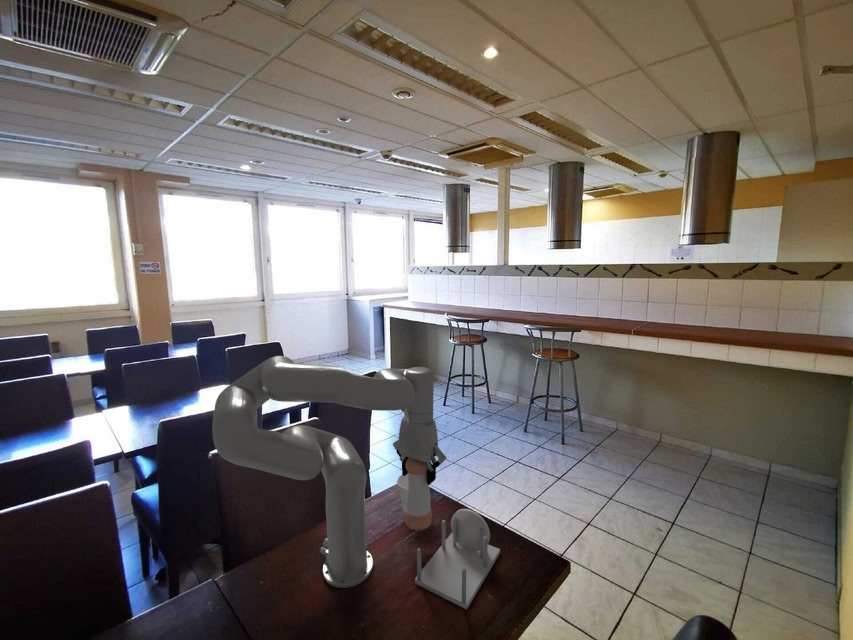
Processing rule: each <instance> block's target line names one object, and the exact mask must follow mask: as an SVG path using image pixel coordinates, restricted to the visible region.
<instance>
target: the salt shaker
mask: <svg viewBox="0 0 853 640" xmlns="http://www.w3.org/2000/svg"><path fill="white" fill-rule="evenodd" d="M405 466H406V469H407V471H408V489H407V495H406V508H405V515H404V523H405V525H406V527H408V528H409V529H411V530H413V531H421V530H425V529H428V528H429V527H430V525H431V524H432V515H433V514H432V512H433V511H432V506H431V498H432V497H431V492H430V490H431V489H430V485H427V470H428V469H429V468H428V466H427V464H426V462H422V461H418V460H415V459H412V458H409V459H408V460H407V461H406V465H405Z"/></svg>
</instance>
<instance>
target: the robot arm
mask: <svg viewBox="0 0 853 640" xmlns="http://www.w3.org/2000/svg"><path fill="white" fill-rule="evenodd" d="M434 382H435V381H434V372H433V370H432V369H431V368H428V367H425V366H413V367H409V368H392V367H391V368H390V367H389V368H383V369H380V370H378V371H377V372H376V373H374V375H373V376H372V377H371V376H370V377H369V376H366V375H362V374H359V373H356V372H354V371H351V370H349V369H347V368H345V367H343V366H339V365H332V364H331V365H329V364H328V365H326V364H311V363H295V362H294V360H292V359H291V358H289V357H287V356H286V355H285V356H284V355H275V356H272V357H270V358H267V359H266V360H264V361H263V362H261V363H260V364H258V365H257V366H256V367H253V369H251V370H249V371H248V372H247V373H245V374H244V375H242V376H241V377H240V378H238V379H236V380H235V381H233V382H232V383H231V384H229V385H227V386H226V388H224V389H223V390H221V392H220V393H219V395H218V396H217V399H216V400H215V405H214V411H213V415H212V423H211V424H212V425H211V426H212V427H211V429H212V431H211V432H212V441H213V445H214V446H215V450H216V452H217V453H218V454H219V456H220V457H222V459H224V460H225V461H228V462H229V463H232V464H234V465H237V466H241V467H245V468H250V469H255V470H259V471H263V472H266V473H269V474H273V475H277V476H281V477H286V478H289V479H293V480H298V481H308V480H312V479H314V478H315V477H317V476H318V475H319V474H320V472H321V474H322V477H323V479H324V483H325V517H326V535H327V537H326V538H324V539H323V541H322V545H323V546H321V547H320V548H319V552H320V553H321V554H323V555H325V561H324V563H323V566H322V575H323V579H324V580H325V582H326V583H328V585H331V586H332V587H334V588H339V589H340V588H341V589H343V588H344V589H346V588H347V589H348V588H352V587H355V586H358V585H360V584H362V583H363V582H364V581H366V580H367V578H369V577H370V575H371V573H372V572H373V568H374V558H373V555H372V554H371V552H370V551H368V550H367V526H366V520H367V519H366V487H367V486H366V485H367V472H366V467H365V465H364V462H363V460H362V458H361V457H360V455H359V453H358V452H357V450H356V449H355V447H354V446H353V444H352V443H351V441H350V440H348V439H347V438H345V437H343V436H340V435H338V434H334V433H331V432H328V431H326V430H322V429H319V428H316V427H312V426H309V425H302V424H301V425H300V424H299V425H293V426H291V427H288V428H287V429H285V430H284V431H283V432H282V433H281V432H278V431H275V430H270V429H261V428H259V427H258V409H259V408H260V407H261V406H262V405H264V404H265V403H266V402H268V401H269V400H272V401H276V402H285V403H286V402H287V403H288V402H289V403H297V402H298V403H333V404H337V405H342V406H345V407H350V408H351V407H352V408H358V409H361V410H368V411H382V412H383V411H401V412H403V413H404V414H403V415H404V416H403V417H402V418H401V420H400V421H401V422H400V424H399V425H400V426H399V430H398V431H399V432H398V439H396V440H395V441H394V442H393V443H392V446H393V448H394V450H395V451H396V454H397V455H398V457H399V461H400V462H401V475H402V476H405V475H407V474H408V471H407V469H406V466H405V465H406V461H407V460H408V459H409V458H412V459H415V460H418V461H422V462H426V464H427V466H428V468H429V469H428V470H427V485H429V486H430V485H431V484H432V483H434V481H436V479H437V468H438V467H440V466H441V465H442V464H443V463H444V462H445V461H446V460H447V457H446V454H444V452H443V451H442V450H441V449H440V447H439V438H438V437H439V436H438V429H437V428H438V427H437V424H436V420H434V394H435V393H434V391H435V390H434V385H435V384H434ZM436 457H437V458H438V459H436Z"/></svg>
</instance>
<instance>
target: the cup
mask: <svg viewBox="0 0 853 640" xmlns="http://www.w3.org/2000/svg"><path fill="white" fill-rule="evenodd" d="M396 484H397V485H398V490H399V491H398V492H399V495H400V501H401V505H402V512H403V515H404V516H405V508H406V495H407V489H408V474H407V475H405V476H402V474H400V475H399V476H398V478H397V480H396Z"/></svg>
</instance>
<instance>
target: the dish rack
mask: <svg viewBox="0 0 853 640" xmlns="http://www.w3.org/2000/svg"><path fill="white" fill-rule="evenodd" d="M450 529H451V533H450V534H449V536H448V537H446V535H447V534H446V520H445V519H443V520H441V545H440V547H439V548H438V549H437V550H436V551H435V553H434V554H433V556H432V557H431V558H430V559H429V560H428V562H427V563H426V565H424V567H423V568H422V549H421V547H418V548H417V549H416V568H417V569H416V572H417V573H416V574H417V575H416V576H415V578H414V584H416V585H418V586H420V587H421V588H424V589H426V590H428V591H429V592H432V593H433V594H436V595H438V596H439V597H442V598H443V599H445V600H448V601H449V602H450V603H452V604H455V605H457V606H458V607H461V608H463V609H465V610H468V608H469V607H470V605H471V603H472V602H473V600H474V598H475V597H476V595H477V593H478V591H479V590H480V588H481V586H482V584H483V583H484V581H485V580H486V577H487V576H488V575H489V573H490V571H491V570H492V568H493V566H494V564H495V562H496V560H497V559H498V558H499V555H500V554H501V549H500V548H498V547H496V546H494V545H490V544H489V543H490V539H491V533H490V528H489V525H488V523H487V522H486V520H485V519H484V518H483V517H482V516H481V515H480V514H479V513H477V512H476V511H474V510H472V509H470V508H460V509H458V510H457V511H456V512H455V513H453V515H452V517H451V519H450Z"/></svg>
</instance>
